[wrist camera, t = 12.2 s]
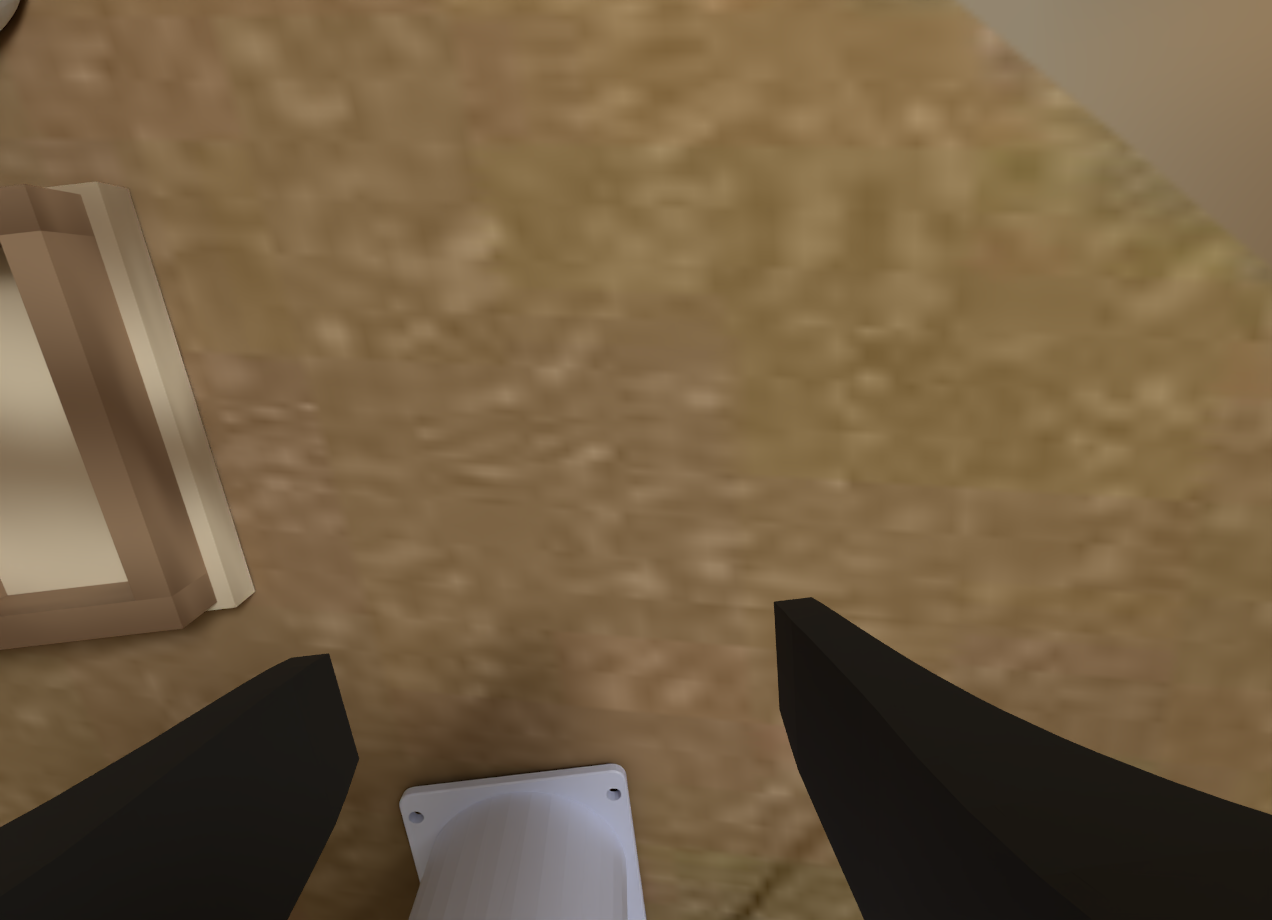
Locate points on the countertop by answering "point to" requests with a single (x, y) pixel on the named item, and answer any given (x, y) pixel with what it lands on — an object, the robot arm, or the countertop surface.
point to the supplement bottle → (7, 11)
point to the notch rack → (99, 434)
